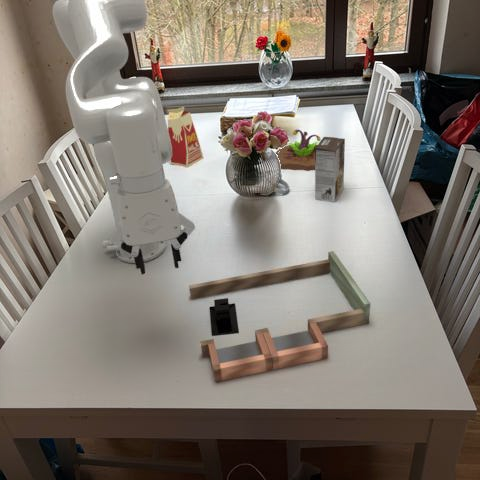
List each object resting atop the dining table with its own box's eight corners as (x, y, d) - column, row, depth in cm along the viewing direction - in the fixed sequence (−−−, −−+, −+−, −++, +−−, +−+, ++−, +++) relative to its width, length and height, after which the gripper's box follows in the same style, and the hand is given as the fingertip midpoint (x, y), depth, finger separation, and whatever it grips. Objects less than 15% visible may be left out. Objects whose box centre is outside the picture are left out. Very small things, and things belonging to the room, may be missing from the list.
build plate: (243, 340, 97) (241, 322, 94) (206, 345, 96) (204, 327, 94) (237, 300, 107) (236, 283, 105) (204, 304, 107) (201, 288, 104)
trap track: (208, 383, 87) (205, 363, 84) (190, 296, 109) (187, 278, 106) (384, 345, 92) (386, 325, 89) (333, 269, 113) (333, 251, 111)
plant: (275, 150, 180) (274, 120, 174) (330, 148, 177) (330, 118, 171) (272, 173, 163) (271, 140, 157) (332, 171, 160) (333, 138, 155)
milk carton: (203, 158, 178) (196, 103, 167) (188, 167, 171) (179, 111, 161) (183, 154, 182) (176, 101, 172) (167, 164, 176) (158, 108, 165)
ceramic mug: (251, 196, 149) (250, 172, 145) (258, 184, 155) (257, 161, 151) (286, 198, 146) (286, 175, 142) (291, 186, 153) (291, 163, 149)
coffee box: (323, 186, 151) (323, 136, 142) (344, 189, 148) (345, 137, 140) (314, 199, 144) (314, 147, 135) (335, 202, 141) (337, 149, 133)
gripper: (89, 196, 78) (113, 287, 88) (195, 179, 81) (208, 270, 90) (91, 178, 85) (113, 264, 94) (190, 163, 87) (202, 249, 96)
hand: (159, 266), depth 92 cm, fingers open, 5 cm apart
